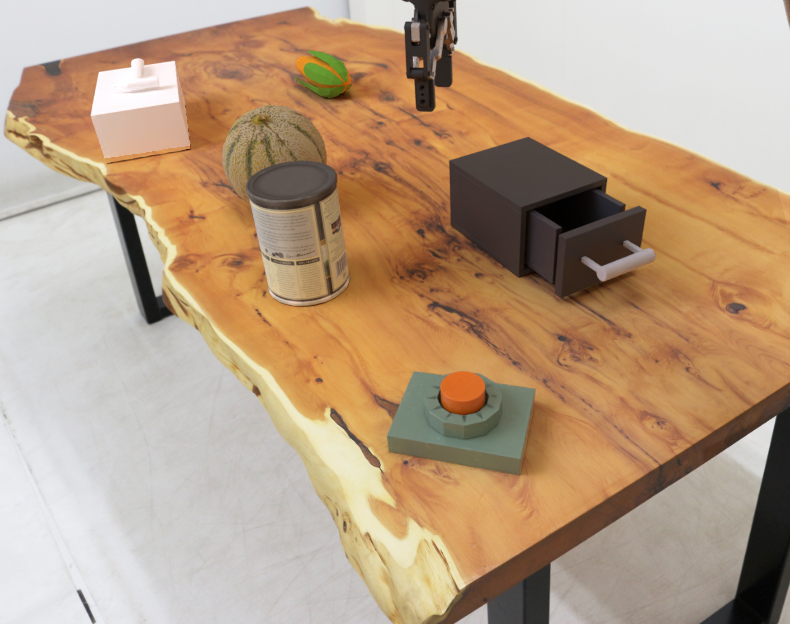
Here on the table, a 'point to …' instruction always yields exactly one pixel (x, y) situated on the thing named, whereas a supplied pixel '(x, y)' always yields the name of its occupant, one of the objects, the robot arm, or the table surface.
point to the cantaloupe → (269, 143)
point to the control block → (464, 426)
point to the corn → (324, 74)
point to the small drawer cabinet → (511, 194)
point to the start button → (462, 393)
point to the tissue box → (139, 109)
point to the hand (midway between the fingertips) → (435, 97)
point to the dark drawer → (584, 240)
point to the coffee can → (300, 231)
